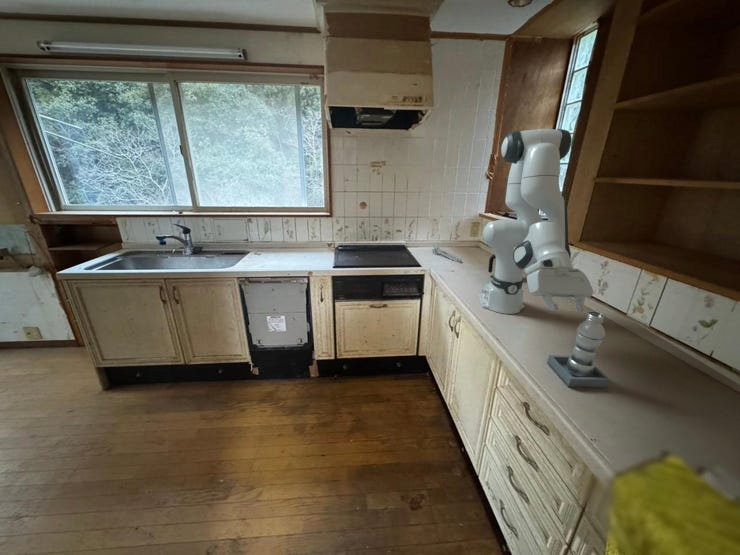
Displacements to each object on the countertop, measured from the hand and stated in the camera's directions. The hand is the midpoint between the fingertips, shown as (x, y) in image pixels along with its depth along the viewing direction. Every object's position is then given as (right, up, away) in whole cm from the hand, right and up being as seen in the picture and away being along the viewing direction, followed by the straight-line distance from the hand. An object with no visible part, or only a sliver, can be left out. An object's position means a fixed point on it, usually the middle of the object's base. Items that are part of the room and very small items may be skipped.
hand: (567, 310), depth 86 cm
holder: (+4, -20, +3) cm, 20 cm away
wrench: (-6, +23, +119) cm, 122 cm away
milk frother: (+15, +8, +78) cm, 79 cm away
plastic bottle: (+5, -19, +2) cm, 20 cm away
